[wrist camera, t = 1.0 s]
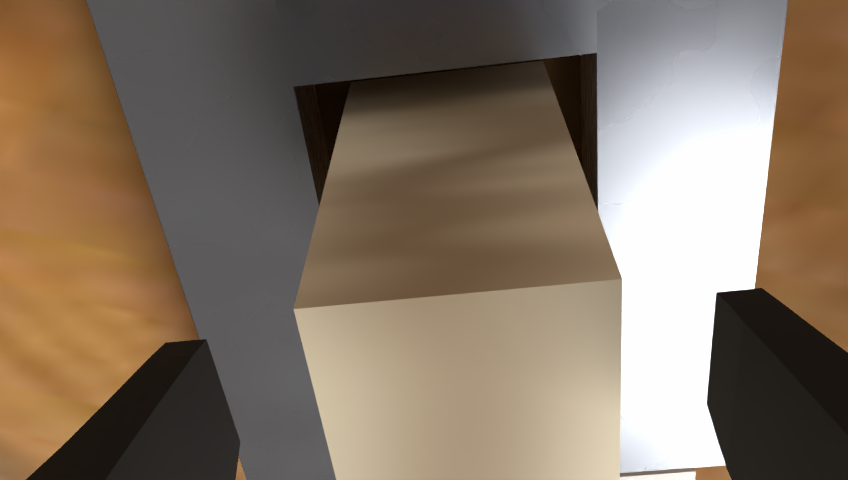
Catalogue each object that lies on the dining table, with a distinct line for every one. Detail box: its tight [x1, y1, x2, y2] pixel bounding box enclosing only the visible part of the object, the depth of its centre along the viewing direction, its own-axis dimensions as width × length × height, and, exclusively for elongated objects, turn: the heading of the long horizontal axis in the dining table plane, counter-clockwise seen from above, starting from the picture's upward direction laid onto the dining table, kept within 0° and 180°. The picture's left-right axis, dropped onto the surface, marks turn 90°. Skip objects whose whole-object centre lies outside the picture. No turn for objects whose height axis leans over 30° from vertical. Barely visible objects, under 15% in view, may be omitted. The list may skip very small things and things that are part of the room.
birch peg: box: [294, 61, 622, 480], centre depth 14 cm, size 4×4×8 cm
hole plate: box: [86, 0, 788, 480], centre depth 17 cm, size 12×16×2 cm
